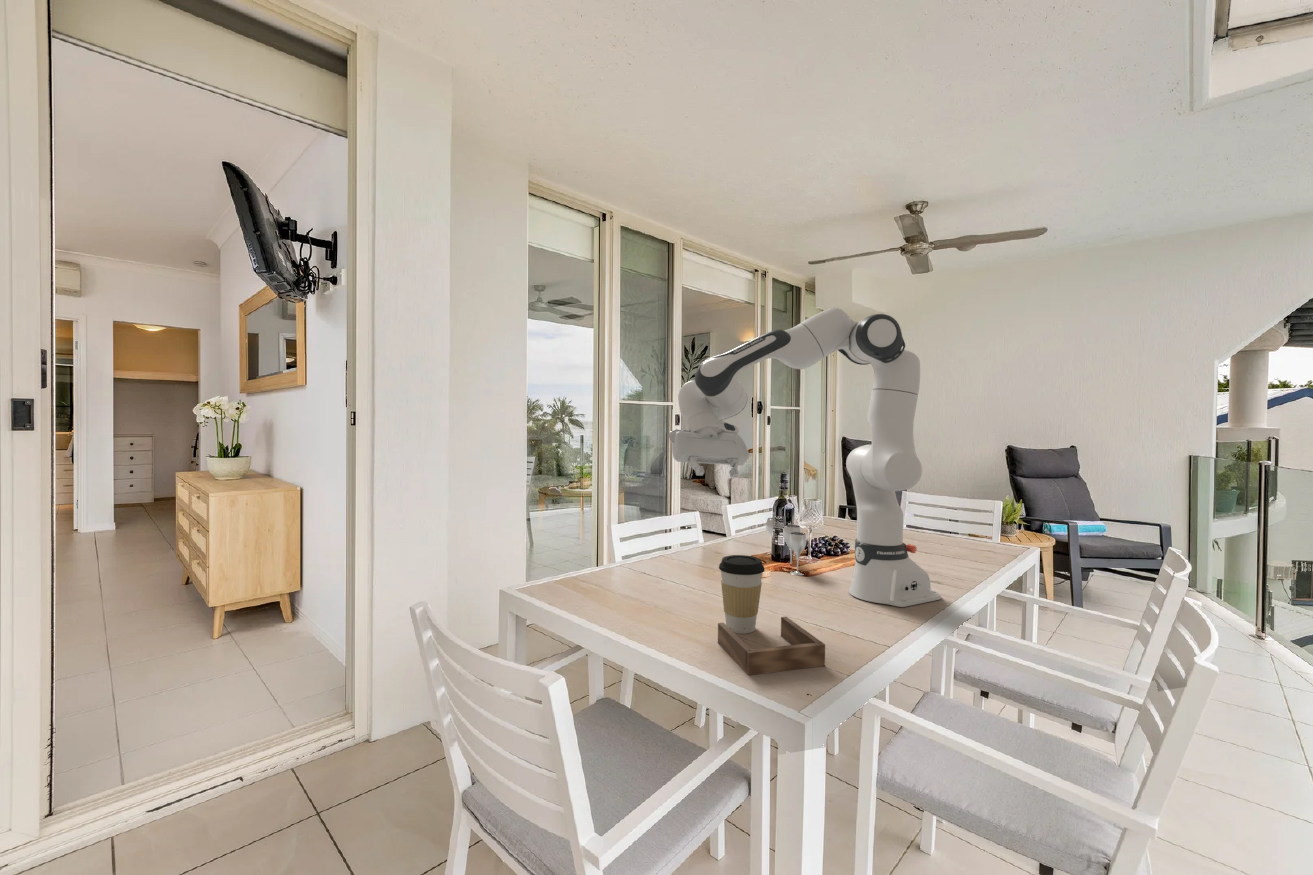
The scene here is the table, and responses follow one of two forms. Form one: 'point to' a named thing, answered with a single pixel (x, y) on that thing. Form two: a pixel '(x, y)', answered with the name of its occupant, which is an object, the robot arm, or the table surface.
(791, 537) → the goblet set
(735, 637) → the walnut caddy
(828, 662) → the table surface
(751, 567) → the coffee cup
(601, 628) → the table surface
